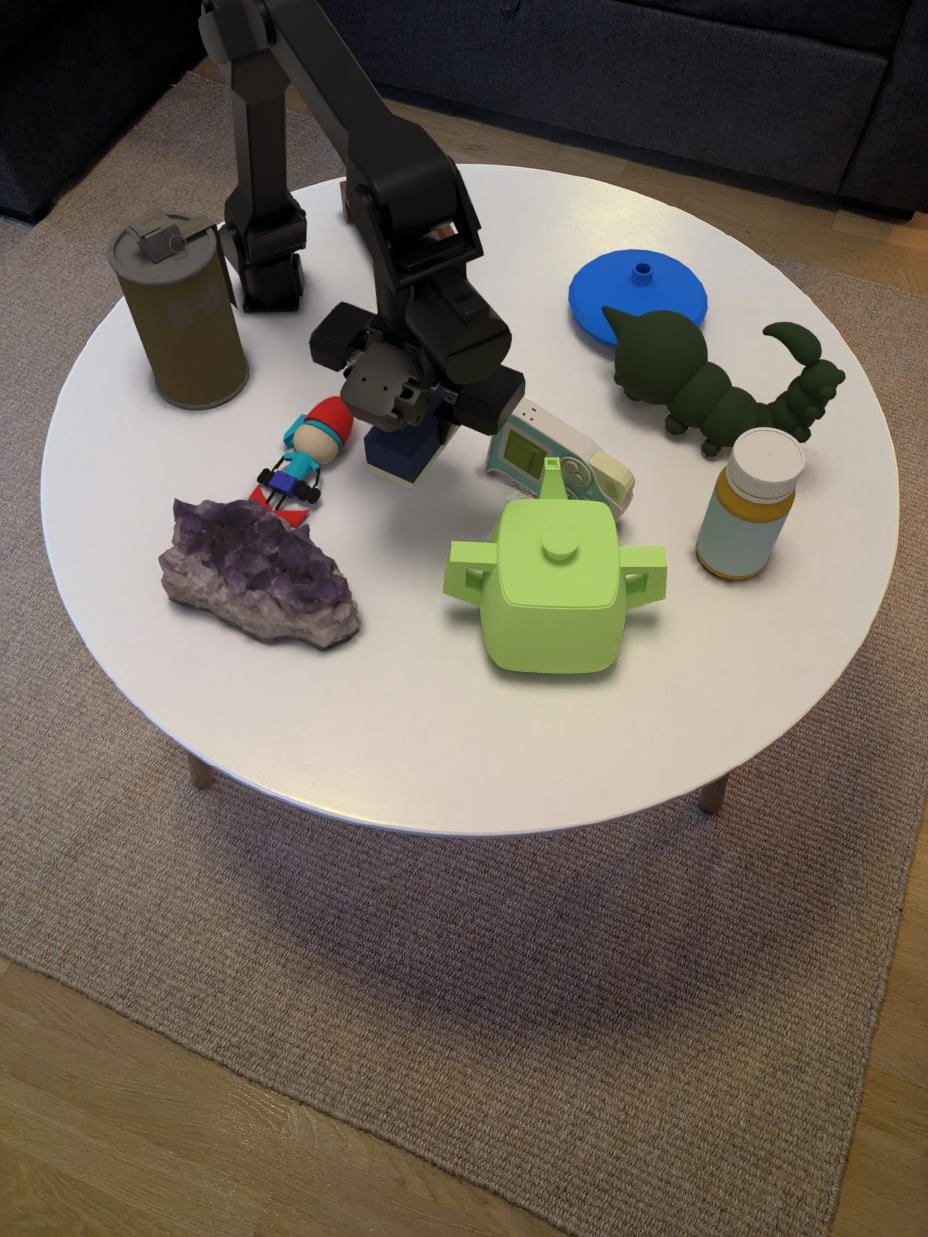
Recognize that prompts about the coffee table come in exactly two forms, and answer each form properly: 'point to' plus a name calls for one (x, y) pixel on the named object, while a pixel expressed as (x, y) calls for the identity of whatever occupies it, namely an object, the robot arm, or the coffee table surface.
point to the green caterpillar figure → (715, 379)
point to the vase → (633, 290)
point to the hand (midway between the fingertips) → (419, 431)
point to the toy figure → (306, 456)
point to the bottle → (750, 503)
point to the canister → (181, 306)
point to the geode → (257, 574)
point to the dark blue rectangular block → (406, 448)
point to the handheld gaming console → (579, 456)
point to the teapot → (554, 581)
